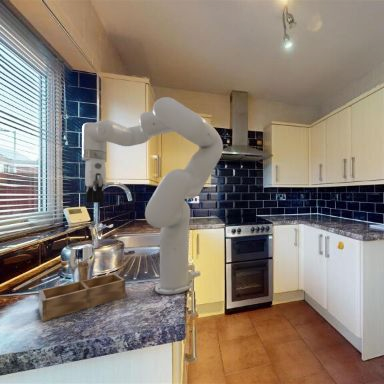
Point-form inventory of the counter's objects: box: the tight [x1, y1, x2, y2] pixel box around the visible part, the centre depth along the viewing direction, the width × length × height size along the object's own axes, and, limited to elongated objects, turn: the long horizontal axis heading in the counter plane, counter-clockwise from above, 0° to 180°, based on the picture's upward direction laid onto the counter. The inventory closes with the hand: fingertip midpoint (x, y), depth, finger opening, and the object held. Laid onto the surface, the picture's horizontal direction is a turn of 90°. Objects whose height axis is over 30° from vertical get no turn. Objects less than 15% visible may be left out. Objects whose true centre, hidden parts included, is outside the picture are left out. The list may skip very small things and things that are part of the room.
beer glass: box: [69, 244, 96, 283], centre depth 80 cm, size 7×7×15 cm
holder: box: [38, 272, 126, 323], centre depth 70 cm, size 20×10×5 cm, turn 137°
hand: (94, 202), depth 86 cm, fingers open, 9 cm apart
